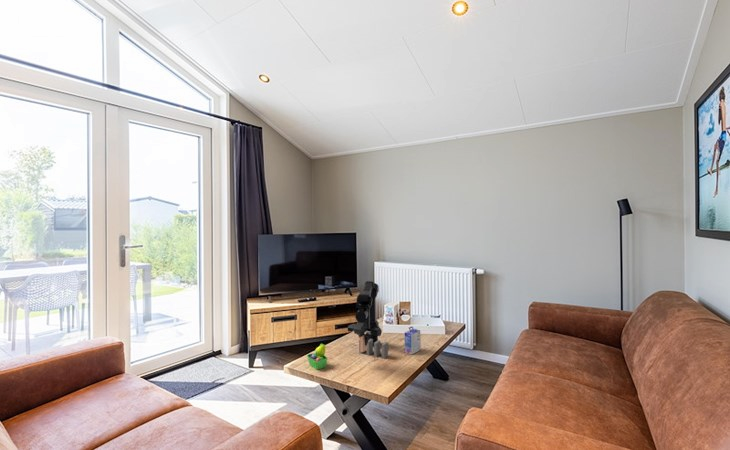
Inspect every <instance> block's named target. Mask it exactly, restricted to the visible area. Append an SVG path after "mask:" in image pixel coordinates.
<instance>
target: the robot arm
mask: <svg viewBox="0 0 730 450" xmlns="http://www.w3.org/2000/svg"><path fill="white" fill-rule="evenodd" d="M379 291H380V289H379V284H378V283H375V281H373V280H367V281H365V282H364V287H363V290H362V291H361V292H359V294H358V295H357V296H356V303H355V309H358V310H357V312H356V313H355V320H356V321H357V322H356V323H351V324H350V325H348V326H347V332H350V333H351V332H353V333H354V334H355V335H358V338H359V339H360V337H361V336H363V335H364V336H365V346H366V345H367V343H368V341H369V340H370V339H373V347H374V343H375V342H376V341H378V340H379V337H381V336H382V328H381V327H380V326H379V325H380V324H379V322H378V320H377V307H376V303H377V301H376V298H377V296H378V294H379Z"/></svg>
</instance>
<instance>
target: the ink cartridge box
mask: <svg viewBox="0 0 730 450" xmlns="http://www.w3.org/2000/svg"><path fill="white" fill-rule="evenodd" d="M421 342H422V341H421V330H420V329H417V328H414V327H413V326H408V331H405V332H404V350H405V351H404V352H405V353H406V354H409V355H413V354H416V353H417V352H419V351H421V348H422V347H421V346H422V345H421Z"/></svg>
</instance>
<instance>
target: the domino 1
mask: <svg viewBox="0 0 730 450" xmlns="http://www.w3.org/2000/svg"><path fill="white" fill-rule="evenodd" d="M359 340H360V352H364V351H365V350H366V351H367V345H366V346H365V336H364V335H363V336H361V337H360V338H359ZM366 351H365V352H366ZM365 352H364V353H365Z"/></svg>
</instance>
